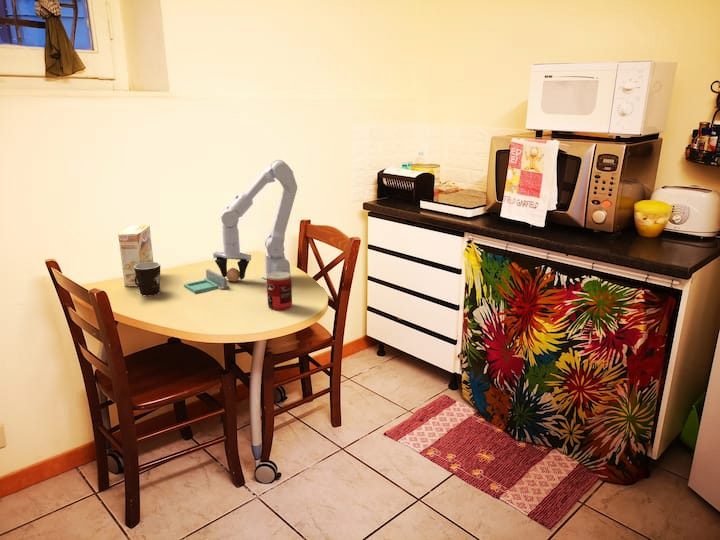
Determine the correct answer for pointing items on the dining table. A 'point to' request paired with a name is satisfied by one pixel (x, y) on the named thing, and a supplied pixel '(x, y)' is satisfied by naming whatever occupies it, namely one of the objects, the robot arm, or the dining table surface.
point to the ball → (233, 274)
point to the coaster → (201, 286)
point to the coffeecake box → (134, 250)
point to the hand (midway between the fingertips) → (233, 277)
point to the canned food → (279, 290)
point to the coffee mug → (148, 277)
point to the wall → (216, 279)
